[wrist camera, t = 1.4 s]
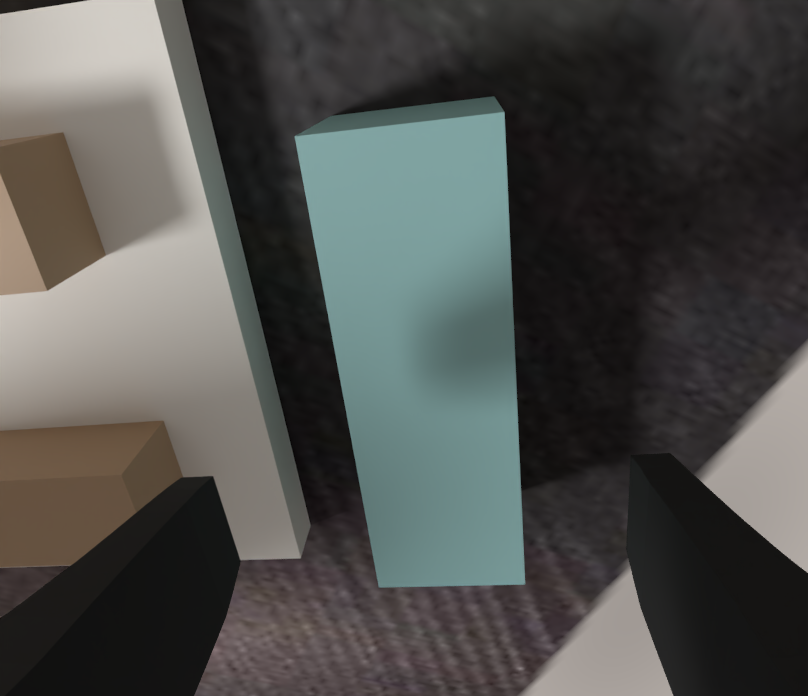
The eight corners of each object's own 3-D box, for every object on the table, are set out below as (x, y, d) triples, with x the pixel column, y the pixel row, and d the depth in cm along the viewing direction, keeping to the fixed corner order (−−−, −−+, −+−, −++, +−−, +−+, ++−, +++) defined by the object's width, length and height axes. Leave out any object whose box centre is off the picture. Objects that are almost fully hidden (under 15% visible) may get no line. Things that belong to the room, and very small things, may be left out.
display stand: (310, 525, 21) (280, 623, 18) (-5, 537, 23) (-92, 630, 19) (180, -5, 14) (86, -21, 11) (-263, 63, 16) (-475, 70, 12)
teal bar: (513, 488, 20) (525, 584, 16) (392, 493, 21) (378, 587, 17) (493, 95, 15) (504, 111, 11) (333, 114, 15) (294, 136, 12)
